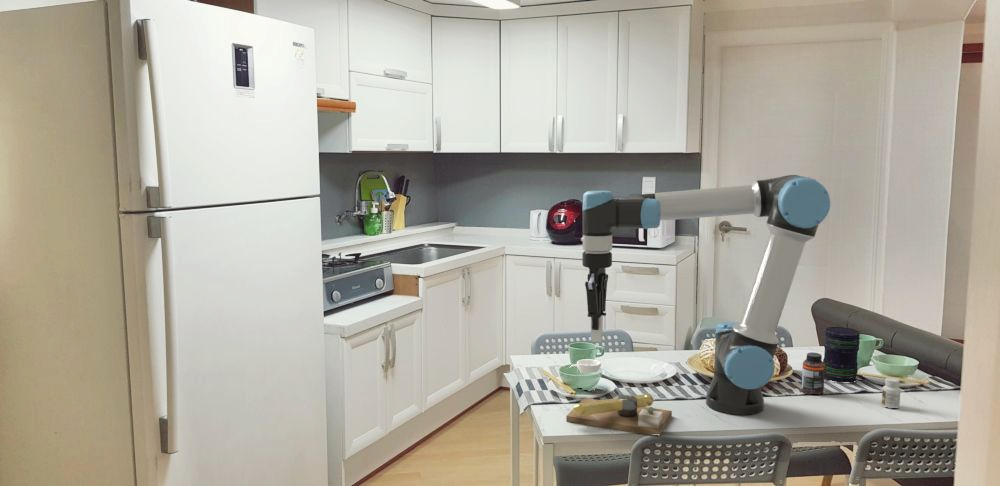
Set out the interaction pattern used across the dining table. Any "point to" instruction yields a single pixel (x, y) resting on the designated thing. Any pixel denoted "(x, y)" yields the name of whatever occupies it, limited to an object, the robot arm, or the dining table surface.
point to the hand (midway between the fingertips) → (596, 340)
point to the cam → (614, 405)
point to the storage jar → (841, 354)
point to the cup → (584, 363)
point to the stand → (626, 420)
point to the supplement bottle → (813, 374)
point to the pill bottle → (891, 393)
